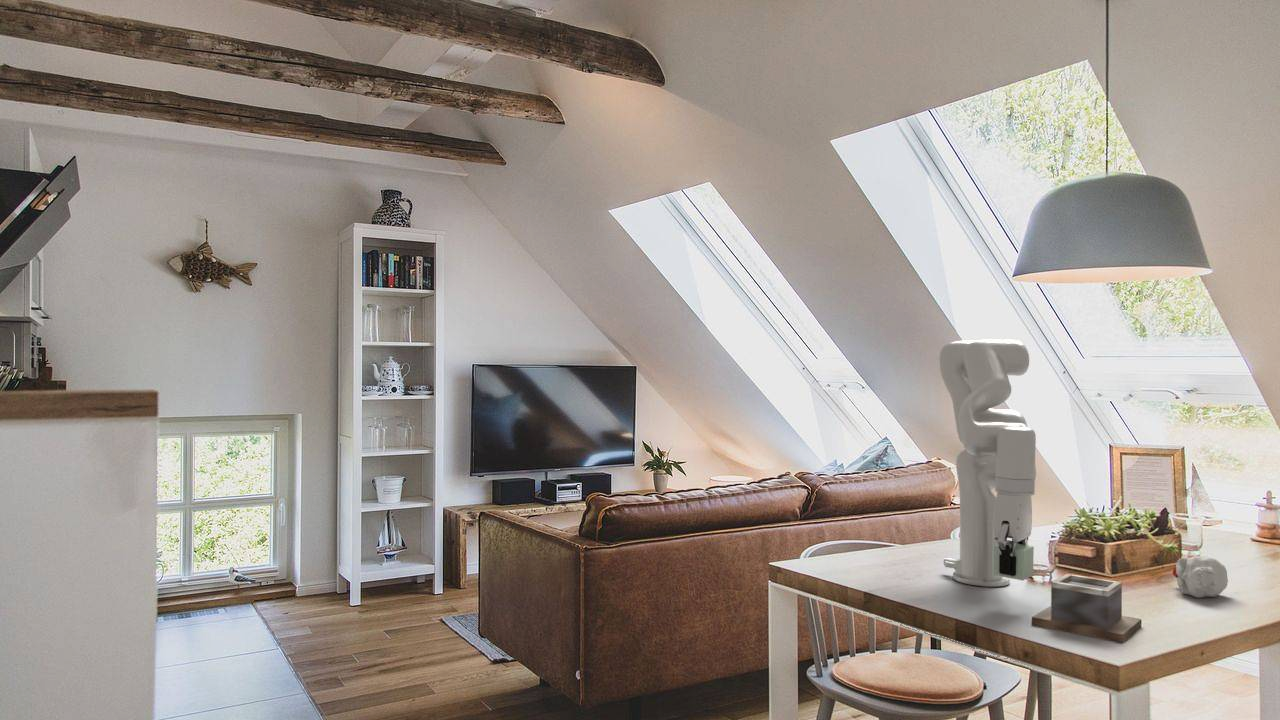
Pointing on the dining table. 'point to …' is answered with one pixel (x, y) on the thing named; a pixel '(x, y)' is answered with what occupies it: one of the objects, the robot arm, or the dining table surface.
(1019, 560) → the sage block
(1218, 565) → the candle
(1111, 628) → the pillar base
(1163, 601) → the dining table surface
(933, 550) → the dining table surface
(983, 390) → the robot arm
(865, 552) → the dining table surface
